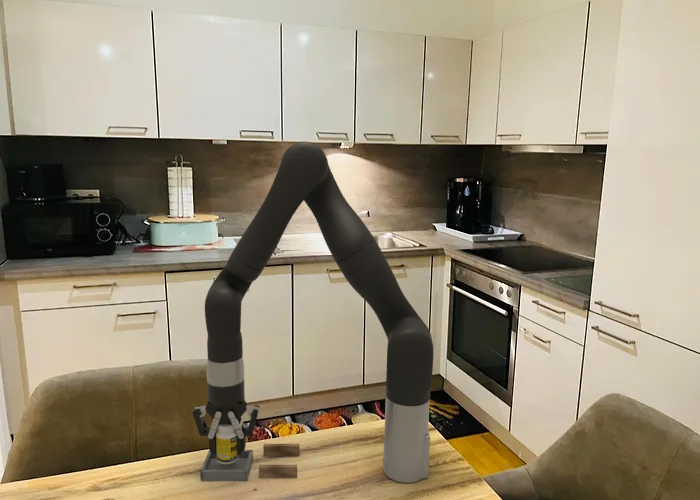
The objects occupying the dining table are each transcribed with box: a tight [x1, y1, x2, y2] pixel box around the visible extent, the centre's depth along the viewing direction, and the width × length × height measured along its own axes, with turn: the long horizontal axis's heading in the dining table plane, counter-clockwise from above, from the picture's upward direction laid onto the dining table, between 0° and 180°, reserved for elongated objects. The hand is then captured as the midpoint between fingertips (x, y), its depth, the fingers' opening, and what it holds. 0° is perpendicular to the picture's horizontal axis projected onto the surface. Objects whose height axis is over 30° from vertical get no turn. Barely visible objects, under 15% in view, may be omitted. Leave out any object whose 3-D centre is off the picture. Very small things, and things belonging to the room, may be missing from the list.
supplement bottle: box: [216, 424, 239, 464], centre depth 111 cm, size 5×5×8 cm
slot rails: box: [258, 443, 301, 479], centre depth 113 cm, size 8×9×2 cm
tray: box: [199, 449, 254, 482], centre depth 112 cm, size 10×8×2 cm
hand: (227, 451), depth 111 cm, fingers closed on supplement bottle, 4 cm apart
